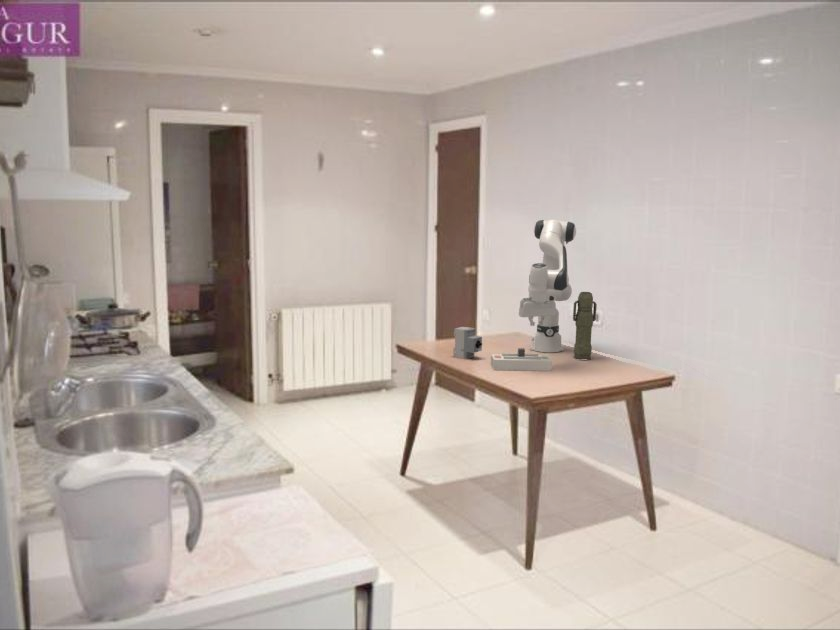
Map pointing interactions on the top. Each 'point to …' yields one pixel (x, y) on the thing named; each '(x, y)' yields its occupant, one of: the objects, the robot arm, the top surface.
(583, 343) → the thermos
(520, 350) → the breaker toggle
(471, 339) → the circuit breaker
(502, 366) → the white slider track board
